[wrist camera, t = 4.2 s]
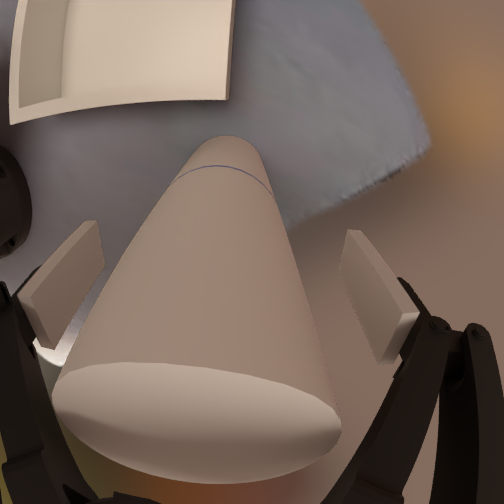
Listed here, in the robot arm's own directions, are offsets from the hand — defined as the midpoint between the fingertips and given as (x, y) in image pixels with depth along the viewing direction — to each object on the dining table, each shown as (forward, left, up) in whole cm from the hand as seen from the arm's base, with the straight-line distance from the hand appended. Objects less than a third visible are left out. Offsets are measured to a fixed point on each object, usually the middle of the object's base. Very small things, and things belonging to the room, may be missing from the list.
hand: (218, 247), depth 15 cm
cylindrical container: (0, 0, -15) cm, 15 cm away
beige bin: (-9, +16, -15) cm, 24 cm away
